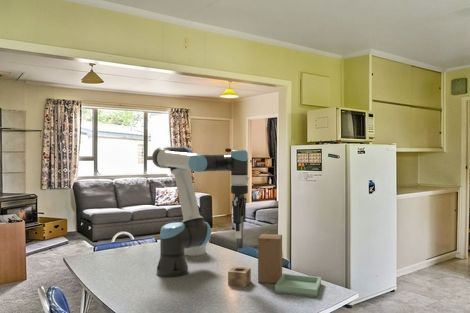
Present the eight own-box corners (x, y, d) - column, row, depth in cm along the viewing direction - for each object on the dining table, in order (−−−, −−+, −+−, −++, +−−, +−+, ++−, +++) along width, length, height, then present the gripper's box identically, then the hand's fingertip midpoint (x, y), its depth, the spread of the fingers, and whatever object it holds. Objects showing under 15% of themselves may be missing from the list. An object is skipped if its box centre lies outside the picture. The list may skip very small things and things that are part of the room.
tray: (274, 292, 157) (274, 285, 157) (283, 280, 173) (283, 273, 173) (316, 297, 152) (316, 289, 152) (321, 284, 168) (321, 277, 168)
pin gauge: (235, 248, 168) (235, 216, 168) (237, 246, 171) (237, 215, 171) (241, 248, 167) (241, 216, 167) (243, 247, 170) (243, 215, 170)
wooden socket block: (228, 285, 167) (228, 271, 167) (233, 279, 174) (233, 266, 174) (245, 287, 164) (245, 273, 164) (250, 281, 172) (250, 268, 172)
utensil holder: (205, 256, 216) (205, 225, 216) (179, 256, 216) (179, 225, 216) (207, 249, 230) (207, 220, 231) (183, 249, 231) (183, 220, 231)
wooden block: (280, 284, 168) (280, 238, 168) (257, 282, 170) (257, 237, 170) (282, 277, 178) (282, 234, 178) (261, 275, 180) (261, 233, 180)
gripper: (242, 186, 160) (242, 241, 160) (252, 183, 176) (252, 234, 175) (225, 185, 163) (225, 240, 163) (237, 183, 178) (237, 233, 178)
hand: (239, 237), depth 169 cm, fingers closed on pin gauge, 3 cm apart
